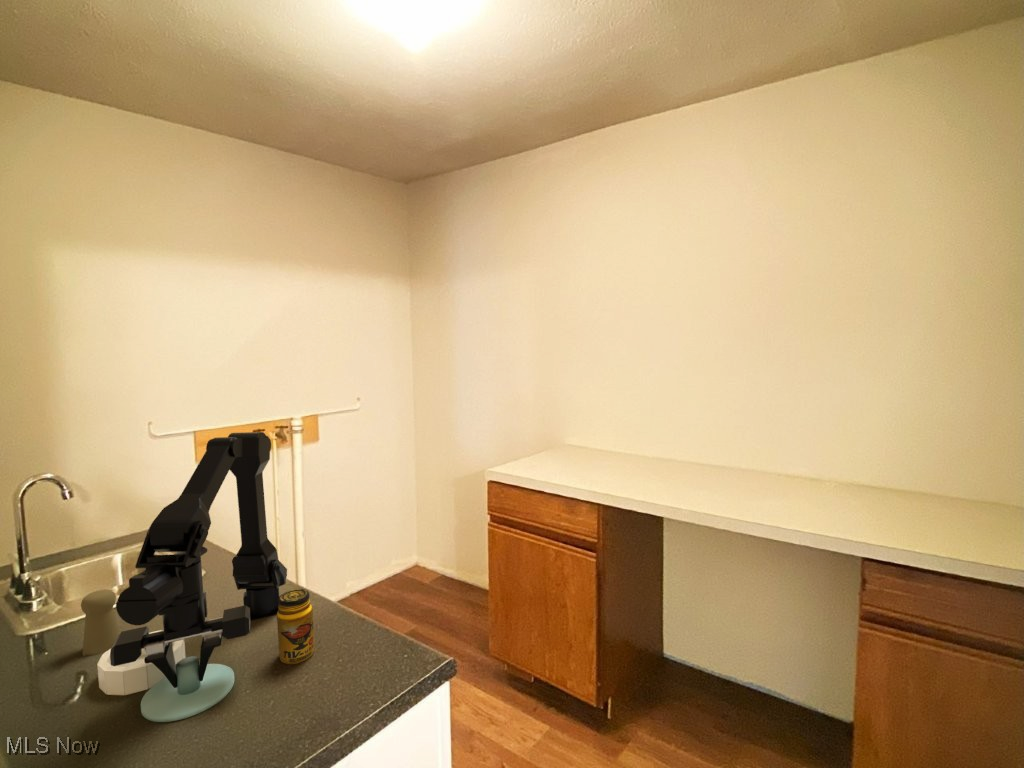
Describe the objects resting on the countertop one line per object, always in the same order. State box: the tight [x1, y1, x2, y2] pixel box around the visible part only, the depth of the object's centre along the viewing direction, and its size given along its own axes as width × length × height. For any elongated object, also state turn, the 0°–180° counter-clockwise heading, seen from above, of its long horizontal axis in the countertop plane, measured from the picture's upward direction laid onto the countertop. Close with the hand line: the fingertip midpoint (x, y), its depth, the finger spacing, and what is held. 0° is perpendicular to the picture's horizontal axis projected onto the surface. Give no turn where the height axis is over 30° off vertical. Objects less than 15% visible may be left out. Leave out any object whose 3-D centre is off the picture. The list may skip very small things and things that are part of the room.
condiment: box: [276, 588, 316, 665], centre depth 94 cm, size 7×8×12 cm
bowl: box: [96, 629, 187, 696], centre depth 90 cm, size 12×12×4 cm
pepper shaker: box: [80, 588, 121, 657], centre depth 98 cm, size 6×6×11 cm
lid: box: [140, 655, 235, 723], centre depth 84 cm, size 13×13×5 cm
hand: (188, 683), depth 84 cm, fingers closed on lid, 3 cm apart
